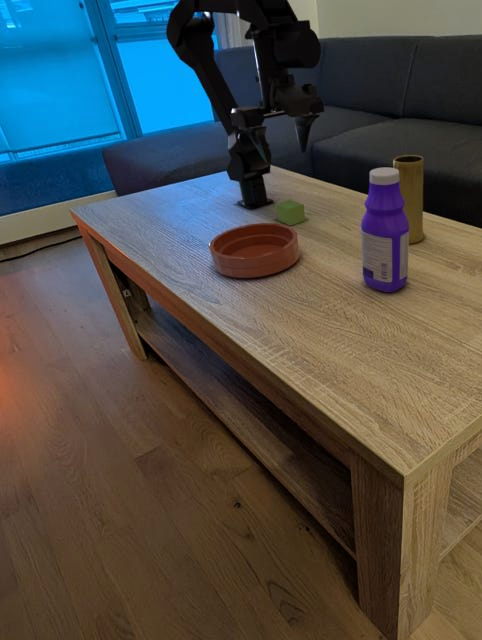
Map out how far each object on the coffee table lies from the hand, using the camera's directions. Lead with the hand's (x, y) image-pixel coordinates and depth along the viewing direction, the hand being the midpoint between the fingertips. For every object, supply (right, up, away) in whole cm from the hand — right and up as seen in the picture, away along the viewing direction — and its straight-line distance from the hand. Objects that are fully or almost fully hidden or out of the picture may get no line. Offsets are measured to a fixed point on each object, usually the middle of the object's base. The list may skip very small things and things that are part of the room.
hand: (285, 157), depth 93 cm
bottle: (+19, -30, -21) cm, 42 cm away
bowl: (-3, -24, -11) cm, 27 cm away
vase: (+24, -19, -7) cm, 32 cm away
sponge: (+1, -12, +4) cm, 13 cm away
